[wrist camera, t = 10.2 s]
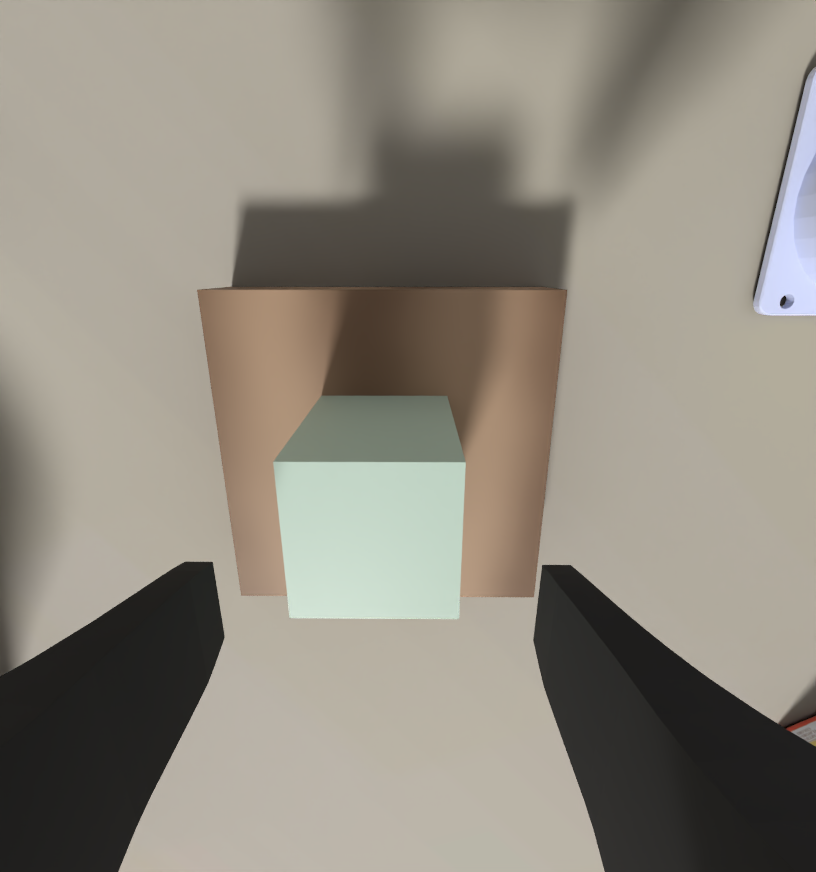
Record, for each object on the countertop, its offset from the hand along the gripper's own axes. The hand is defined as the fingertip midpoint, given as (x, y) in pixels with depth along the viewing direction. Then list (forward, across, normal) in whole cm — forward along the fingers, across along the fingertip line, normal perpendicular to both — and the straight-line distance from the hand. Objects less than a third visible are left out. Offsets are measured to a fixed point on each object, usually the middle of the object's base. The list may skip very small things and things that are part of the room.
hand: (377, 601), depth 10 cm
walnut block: (+10, 0, 0) cm, 10 cm away
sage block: (+7, 0, 0) cm, 7 cm away
